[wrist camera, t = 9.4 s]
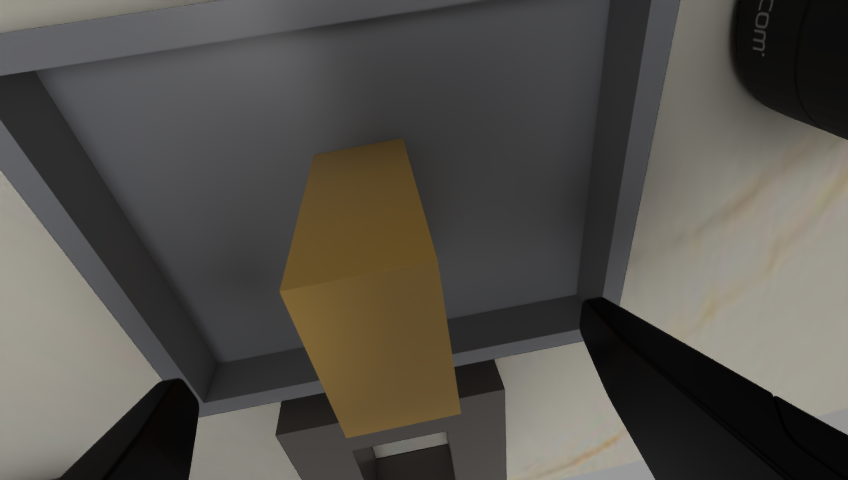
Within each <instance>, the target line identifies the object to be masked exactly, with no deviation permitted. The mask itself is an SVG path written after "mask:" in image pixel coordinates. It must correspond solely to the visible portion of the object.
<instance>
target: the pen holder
mask: <svg viewBox="0 0 848 480" xmlns="http://www.w3.org/2000/svg"><path fill="white" fill-rule="evenodd" d="M736 48H737V56H738V61H739V67H740V70H741V74H742V77H743V79H744V81H745V83H746V85H747V87H748V89H749V90H750V91H751V93H752V94H753V95H754V96H755V97H756V99H758V100H759V101H760V102H761V103H763V104H764V105H765V106H767V107H769V108H771V109H773V110H775V111H777V112H779V113H782V114H784V115H786V116H789V117H791V118H793V119H796V120H799V121H801V122H804V123H806V124H809V125H811V126H814V127H817V128H819V129H822V130H824V131H827V132H829V133H832V134H834V135H836V136H839V137H842V138H844V139H847V140H848V0H741V4H740V8H739V12H738V20H737V28H736Z"/></svg>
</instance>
